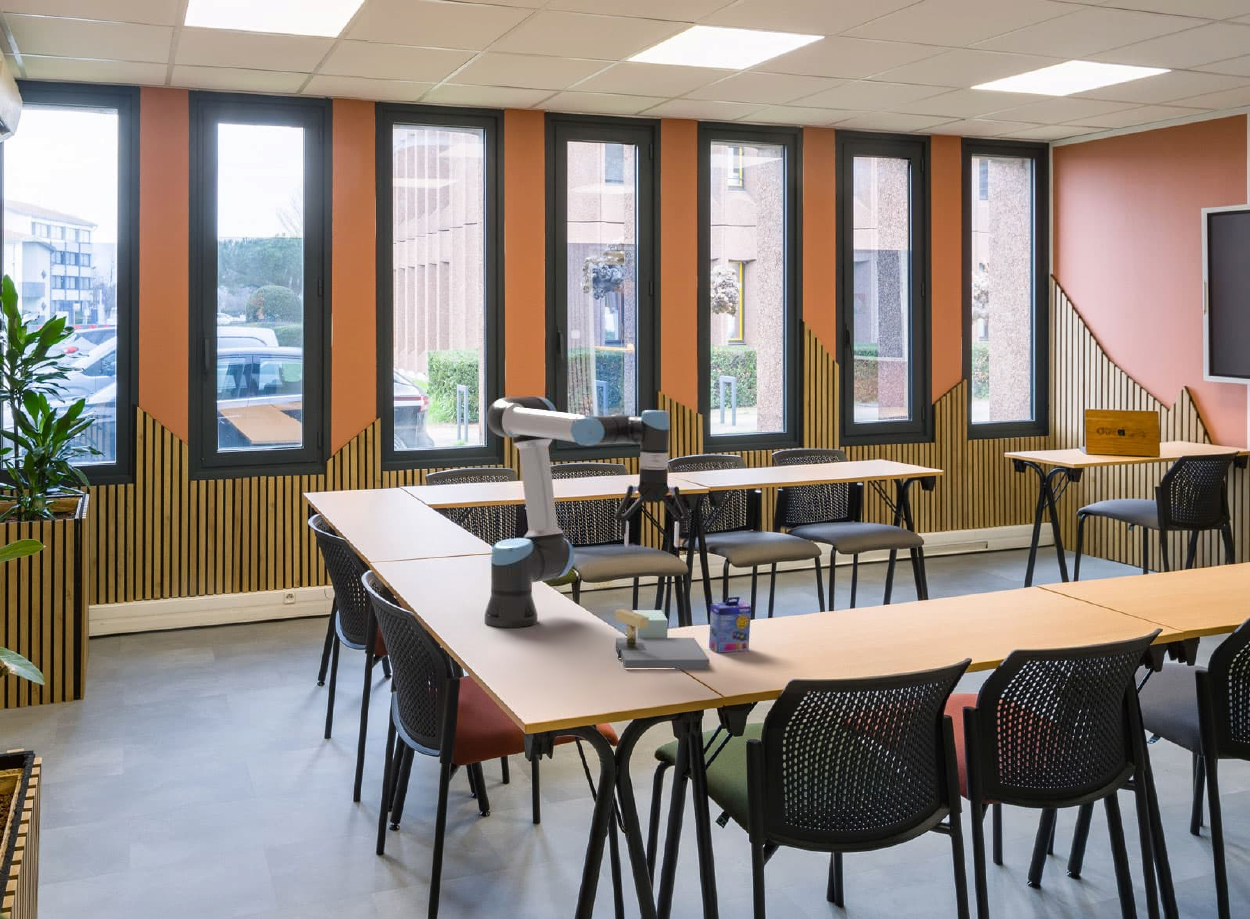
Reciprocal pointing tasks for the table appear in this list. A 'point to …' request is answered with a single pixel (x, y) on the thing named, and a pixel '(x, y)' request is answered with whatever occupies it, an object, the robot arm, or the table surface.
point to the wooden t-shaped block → (631, 623)
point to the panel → (662, 653)
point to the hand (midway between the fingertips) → (651, 546)
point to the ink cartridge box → (729, 626)
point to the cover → (653, 624)
